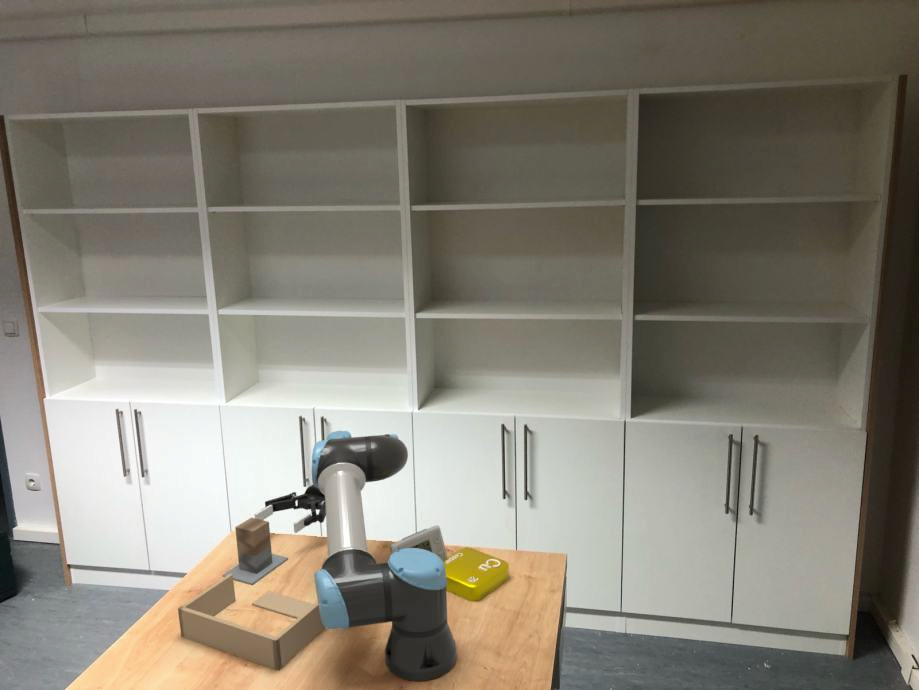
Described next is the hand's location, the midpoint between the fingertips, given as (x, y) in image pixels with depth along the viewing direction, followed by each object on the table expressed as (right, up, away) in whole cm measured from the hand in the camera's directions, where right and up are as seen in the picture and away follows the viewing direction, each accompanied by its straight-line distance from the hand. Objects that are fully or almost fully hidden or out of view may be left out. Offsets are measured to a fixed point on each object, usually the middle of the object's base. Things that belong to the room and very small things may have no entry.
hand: (275, 523), depth 193 cm
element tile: (+53, -11, -14) cm, 56 cm away
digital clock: (+40, -11, -10) cm, 43 cm away
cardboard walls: (+5, -16, -30) cm, 35 cm away
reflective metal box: (-4, -10, -6) cm, 12 cm away
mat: (-4, -10, -6) cm, 12 cm away
